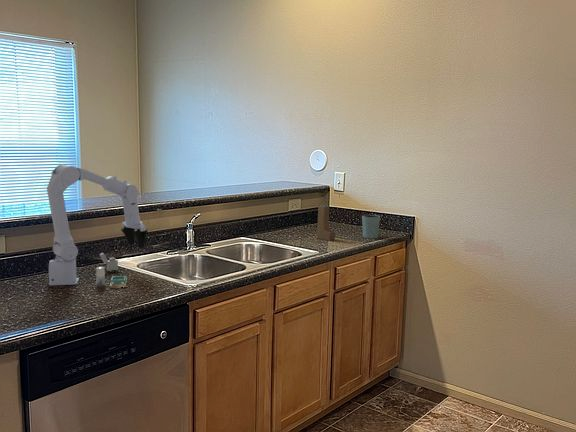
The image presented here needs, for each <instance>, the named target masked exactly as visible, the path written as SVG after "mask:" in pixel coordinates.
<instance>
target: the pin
mask: <svg viewBox="0 0 576 432" xmlns="http://www.w3.org/2000/svg"><path fill="white" fill-rule="evenodd" d="M105 275H106V272H105V267H104V266H97V267H95V277H96V279H95V280H96V281H95V282H96V288H104V287H103V286H106V276H105Z"/></svg>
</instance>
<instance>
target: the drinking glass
mask: <svg viewBox="0 0 576 432" xmlns="http://www.w3.org/2000/svg"><path fill="white" fill-rule="evenodd" d="M361 219H362V222H361V223H362V238H364V237H365V239H378V238H379V229H380V222H381V216H380V215H378V214H363V215H362V216H361Z"/></svg>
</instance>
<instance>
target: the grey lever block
mask: <svg viewBox="0 0 576 432" xmlns="http://www.w3.org/2000/svg"><path fill="white" fill-rule="evenodd" d="M99 256H100V258H101V260H102V262H103V263H104V264H106V271H107V270H108V271H110V272H112V271H111V270H116V271H119V262H118V261H119V260H118V259H116V258H115V257H109V259H108V258H107V256H106V255H105V253H104V252H101V253H99ZM108 271H107V272H108Z"/></svg>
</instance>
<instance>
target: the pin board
mask: <svg viewBox="0 0 576 432" xmlns="http://www.w3.org/2000/svg"><path fill="white" fill-rule="evenodd" d="M127 283H128V278H127V276H126V275H118V276H117V275H114V276H113V275H112V276H111V279H110V285H109V289H125V288H124V287H127ZM121 287H123V288H121Z"/></svg>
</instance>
